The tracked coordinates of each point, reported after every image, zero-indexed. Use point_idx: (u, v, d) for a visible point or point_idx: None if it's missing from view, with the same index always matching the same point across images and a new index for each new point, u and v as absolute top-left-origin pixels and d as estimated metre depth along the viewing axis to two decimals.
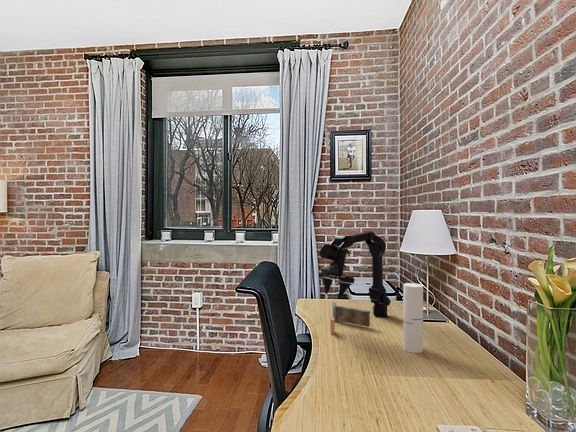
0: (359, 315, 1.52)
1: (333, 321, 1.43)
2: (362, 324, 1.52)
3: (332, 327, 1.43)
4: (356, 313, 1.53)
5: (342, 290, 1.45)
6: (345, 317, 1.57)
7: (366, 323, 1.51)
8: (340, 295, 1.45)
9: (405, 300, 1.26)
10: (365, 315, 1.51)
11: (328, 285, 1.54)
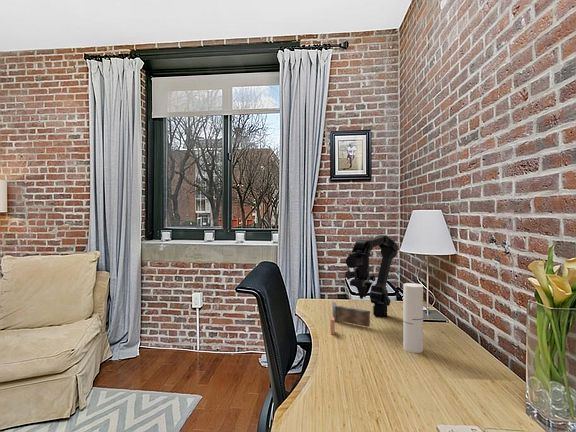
0: (359, 315, 1.52)
1: (333, 321, 1.43)
2: (362, 324, 1.52)
3: (332, 327, 1.43)
4: (356, 313, 1.53)
5: (360, 292, 1.56)
6: (345, 317, 1.57)
7: (366, 323, 1.51)
8: (360, 297, 1.56)
9: (405, 300, 1.26)
10: (365, 315, 1.51)
11: (365, 289, 1.60)
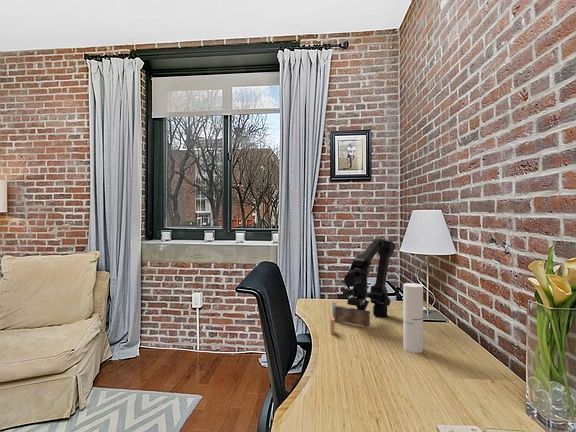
0: (359, 315, 1.52)
1: (333, 321, 1.43)
2: (362, 324, 1.52)
3: (332, 327, 1.43)
4: (356, 313, 1.53)
5: None
6: (345, 317, 1.57)
7: (366, 323, 1.51)
8: None
9: (405, 300, 1.26)
10: (365, 315, 1.51)
11: None
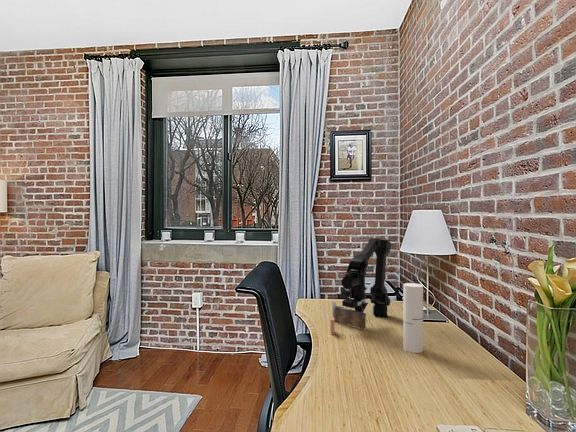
0: (355, 317, 1.50)
1: (333, 321, 1.43)
2: (358, 326, 1.49)
3: (332, 327, 1.43)
4: (352, 314, 1.51)
5: None
6: (343, 318, 1.56)
7: (361, 325, 1.48)
8: None
9: (405, 300, 1.26)
10: (360, 317, 1.48)
11: None
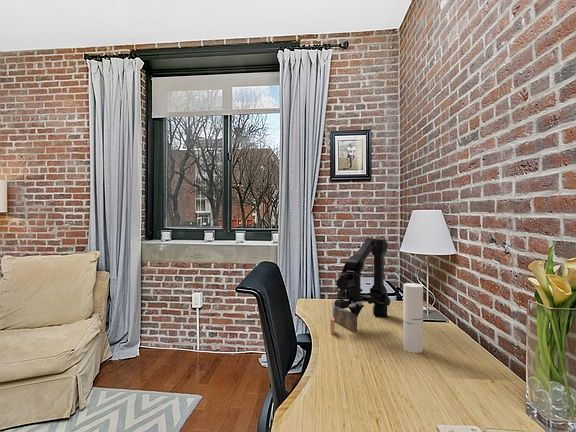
0: (348, 318, 1.48)
1: (333, 321, 1.43)
2: (350, 328, 1.47)
3: (332, 327, 1.43)
4: (346, 315, 1.50)
5: None
6: (339, 318, 1.55)
7: (352, 327, 1.45)
8: None
9: (405, 300, 1.26)
10: (352, 319, 1.46)
11: None
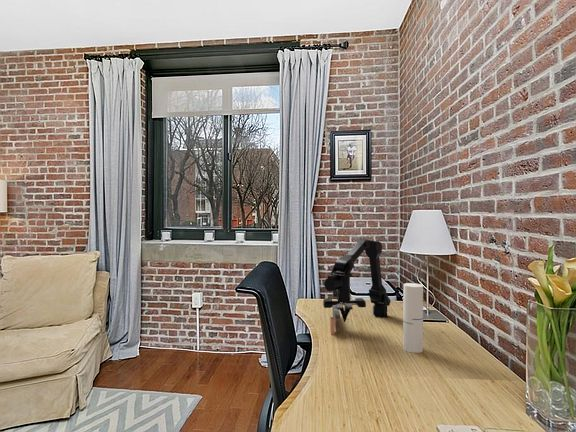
0: (335, 318, 1.48)
1: (333, 321, 1.43)
2: (335, 328, 1.46)
3: (332, 327, 1.43)
4: None
5: None
6: (334, 318, 1.55)
7: (335, 328, 1.44)
8: (343, 319, 1.49)
9: (405, 300, 1.26)
10: (335, 319, 1.45)
11: (344, 313, 1.48)
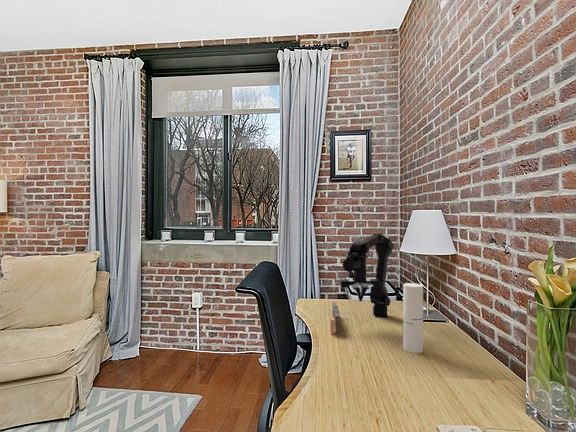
0: (335, 318, 1.48)
1: (333, 321, 1.43)
2: (335, 328, 1.46)
3: (332, 327, 1.43)
4: None
5: (357, 294, 1.55)
6: (334, 318, 1.55)
7: (335, 328, 1.44)
8: None
9: (405, 300, 1.26)
10: None
11: (361, 293, 1.54)
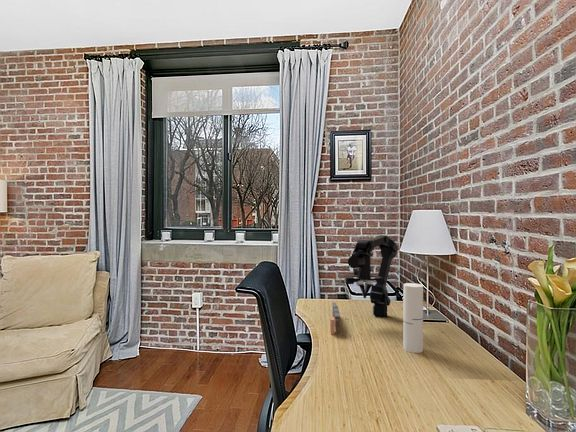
0: (335, 318, 1.48)
1: (333, 321, 1.43)
2: (335, 328, 1.46)
3: (332, 327, 1.43)
4: None
5: (361, 290, 1.58)
6: (334, 318, 1.55)
7: (335, 328, 1.44)
8: (363, 296, 1.58)
9: (405, 300, 1.26)
10: None
11: (365, 290, 1.58)
